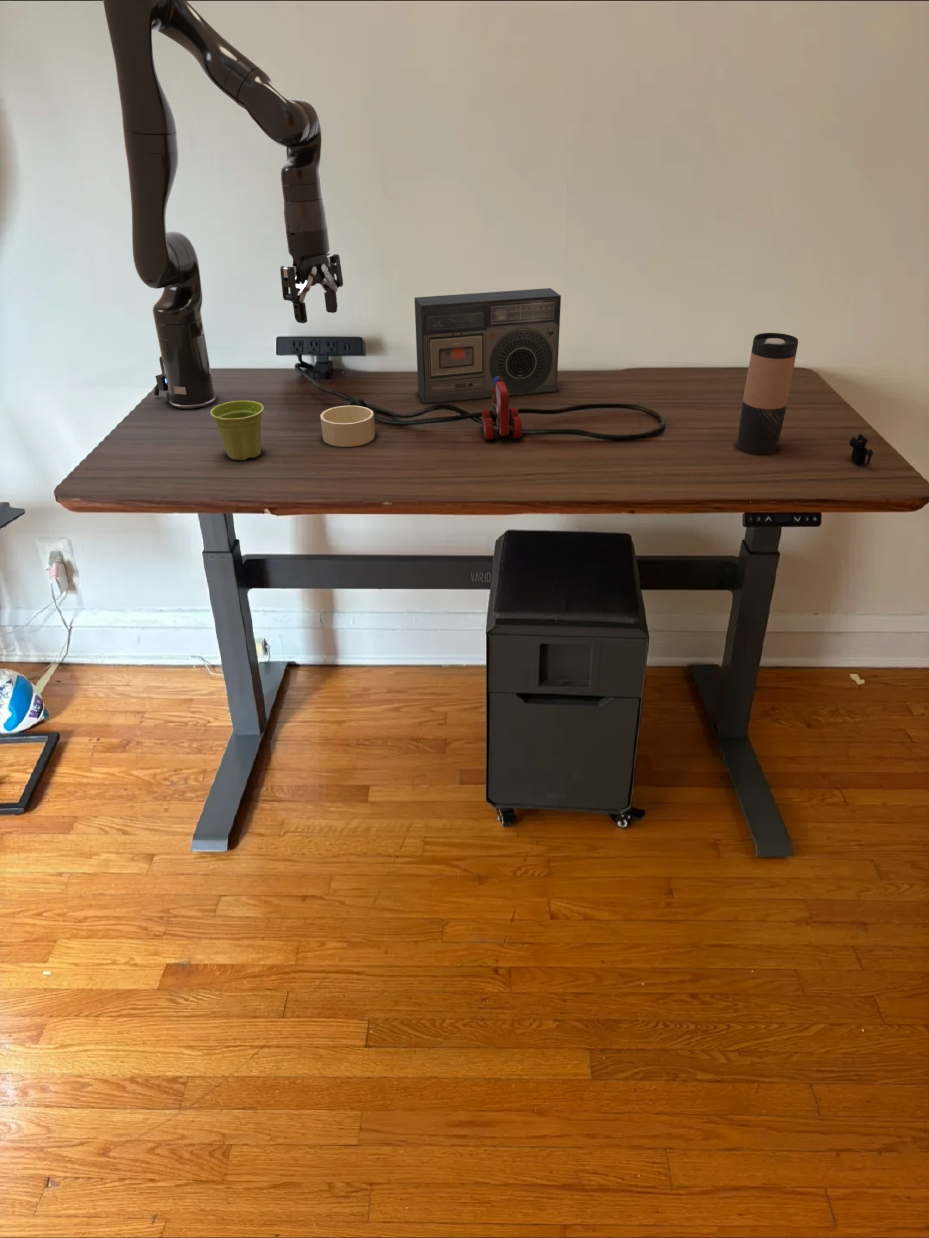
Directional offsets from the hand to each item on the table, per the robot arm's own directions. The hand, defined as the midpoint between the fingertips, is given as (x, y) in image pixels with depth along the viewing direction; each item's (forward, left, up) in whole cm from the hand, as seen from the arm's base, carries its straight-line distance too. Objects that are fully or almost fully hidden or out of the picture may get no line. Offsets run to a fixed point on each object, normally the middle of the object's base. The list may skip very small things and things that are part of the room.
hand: (317, 317), depth 172 cm
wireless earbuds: (+96, +31, -20) cm, 103 cm away
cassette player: (+20, +29, -20) cm, 41 cm away
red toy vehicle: (+35, +10, -20) cm, 42 cm away
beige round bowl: (+11, -7, -20) cm, 24 cm away
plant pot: (0, -24, -20) cm, 31 cm away
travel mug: (+79, +29, -20) cm, 87 cm away
